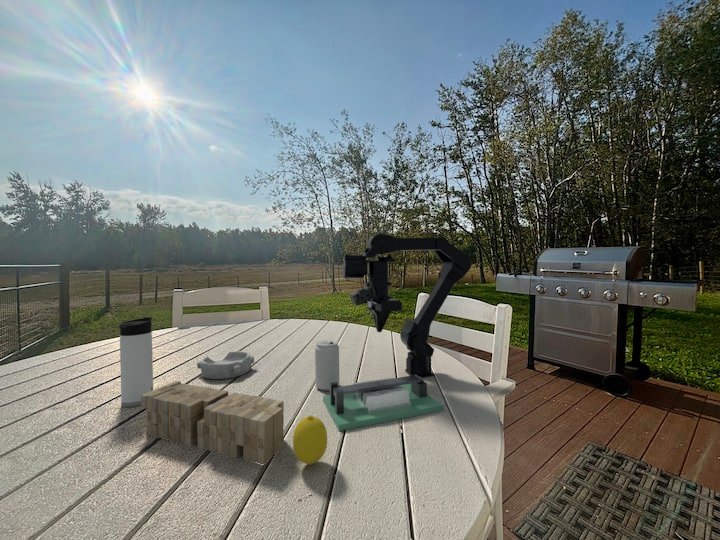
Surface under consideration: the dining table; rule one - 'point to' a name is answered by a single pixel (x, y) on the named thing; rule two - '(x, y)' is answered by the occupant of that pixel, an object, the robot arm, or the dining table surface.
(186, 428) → the block tower
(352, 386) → the strap
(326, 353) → the beverage can
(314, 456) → the lemon
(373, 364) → the dining table surface
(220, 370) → the dish
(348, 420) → the circuit board
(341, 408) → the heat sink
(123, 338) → the travel mug
